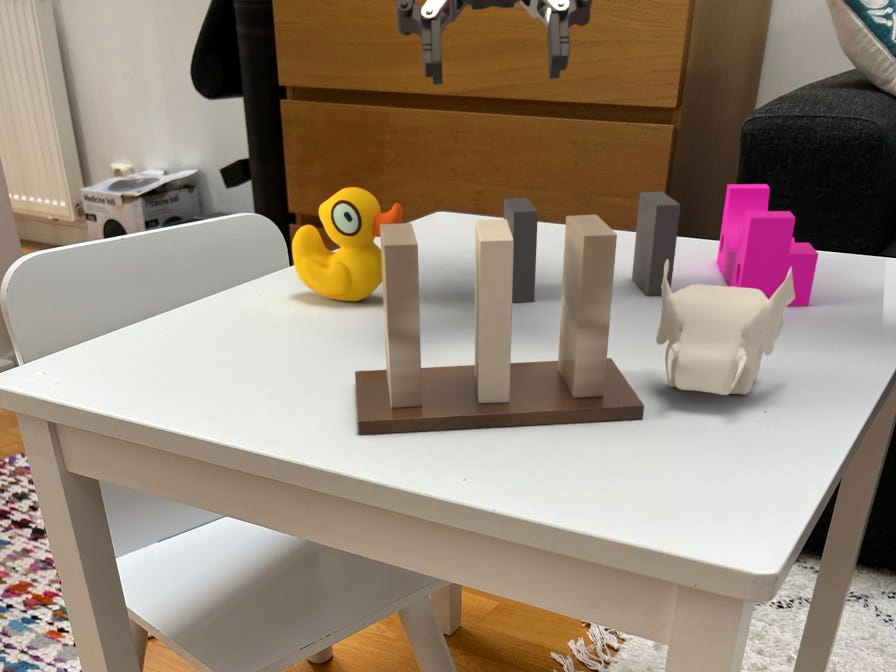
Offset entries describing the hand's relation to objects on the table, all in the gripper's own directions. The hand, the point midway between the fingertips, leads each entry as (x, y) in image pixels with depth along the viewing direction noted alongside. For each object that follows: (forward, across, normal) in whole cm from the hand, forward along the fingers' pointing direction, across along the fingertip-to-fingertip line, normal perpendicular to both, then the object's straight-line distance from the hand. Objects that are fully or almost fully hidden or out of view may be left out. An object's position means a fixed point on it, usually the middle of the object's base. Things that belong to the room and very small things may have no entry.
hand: (496, 74), depth 72 cm
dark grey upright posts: (+4, +9, +25) cm, 27 cm away
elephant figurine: (+22, +15, +6) cm, 28 cm away
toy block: (+4, +26, +26) cm, 38 cm away
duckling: (+5, -14, +24) cm, 28 cm away
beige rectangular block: (+22, -1, +4) cm, 23 cm away
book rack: (+23, -1, +4) cm, 23 cm away
